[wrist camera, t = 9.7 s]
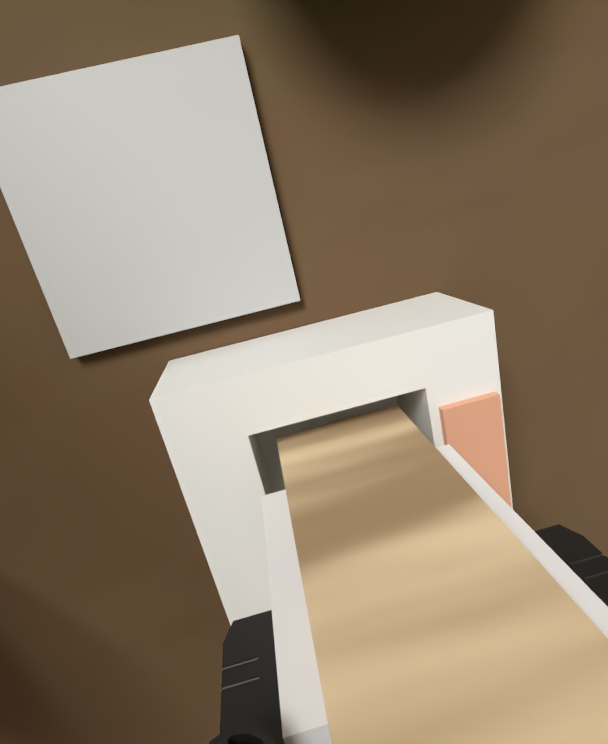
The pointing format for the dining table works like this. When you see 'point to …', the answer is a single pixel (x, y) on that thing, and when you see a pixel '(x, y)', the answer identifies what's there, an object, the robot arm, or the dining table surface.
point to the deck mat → (145, 195)
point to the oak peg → (430, 600)
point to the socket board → (321, 414)
